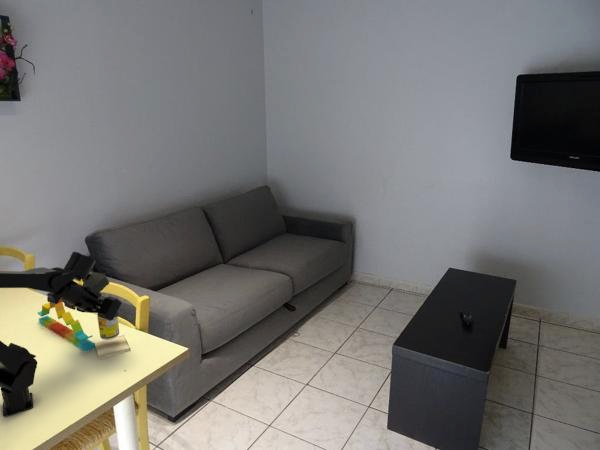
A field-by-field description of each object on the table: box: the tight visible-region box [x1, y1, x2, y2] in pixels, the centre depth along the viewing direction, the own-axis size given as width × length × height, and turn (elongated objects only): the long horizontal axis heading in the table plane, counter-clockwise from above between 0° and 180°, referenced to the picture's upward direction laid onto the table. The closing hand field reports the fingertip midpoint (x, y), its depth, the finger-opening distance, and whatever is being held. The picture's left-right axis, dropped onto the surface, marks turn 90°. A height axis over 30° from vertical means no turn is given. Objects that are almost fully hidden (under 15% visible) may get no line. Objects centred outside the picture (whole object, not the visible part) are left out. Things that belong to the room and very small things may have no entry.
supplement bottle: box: [96, 308, 120, 340], centre depth 137 cm, size 6×6×10 cm
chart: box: [37, 299, 96, 353], centre depth 146 cm, size 30×3×15 cm, turn 54°
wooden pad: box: [94, 334, 131, 360], centre depth 140 cm, size 9×9×1 cm
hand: (111, 313), depth 138 cm, fingers closed on supplement bottle, 5 cm apart
